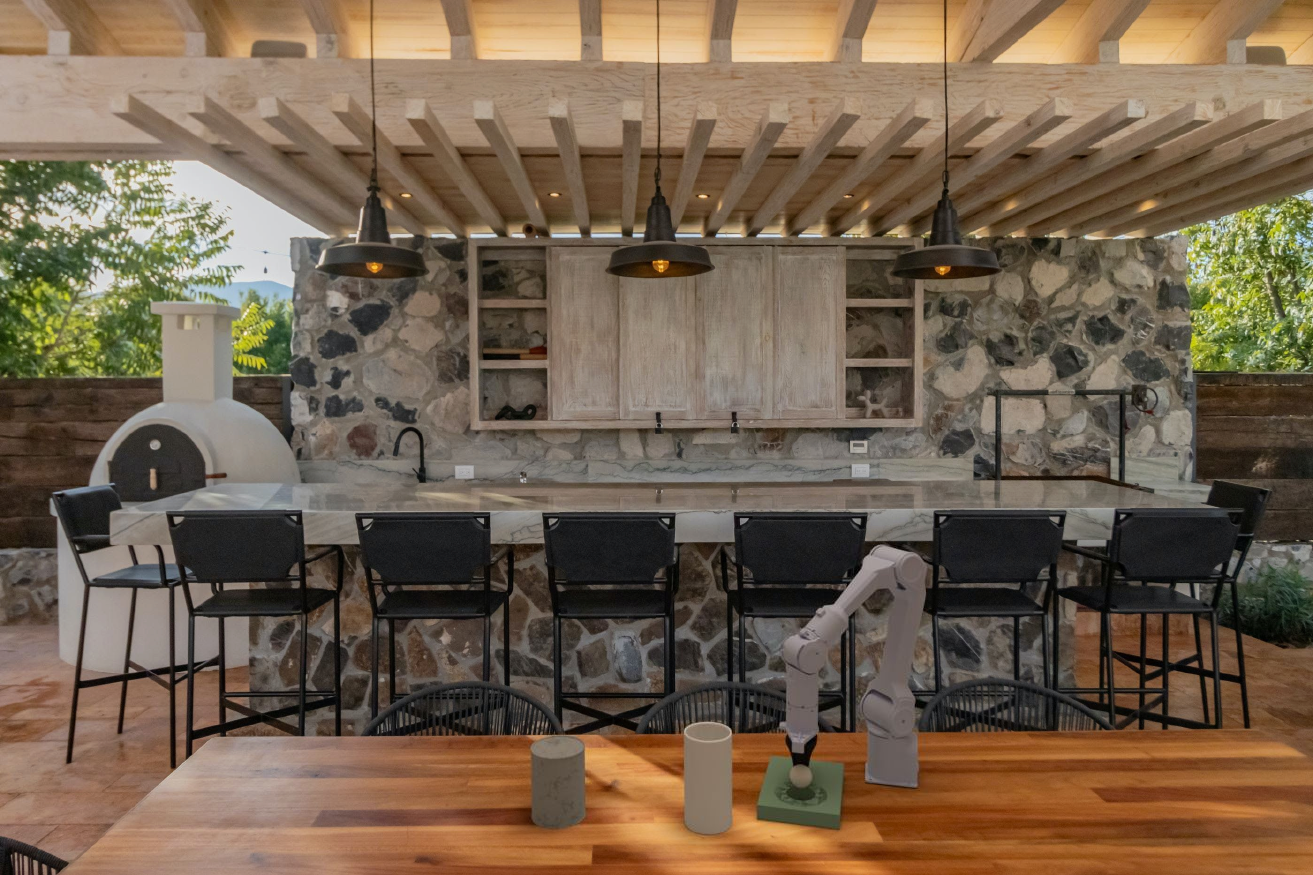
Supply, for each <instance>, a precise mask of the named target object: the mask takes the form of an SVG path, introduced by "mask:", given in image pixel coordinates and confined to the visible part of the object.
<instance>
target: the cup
mask: <svg viewBox="0 0 1313 875" xmlns="http://www.w3.org/2000/svg"><path fill="white" fill-rule="evenodd" d="M683 731H684V732H683V760H684V761H683V775H684V776H683V780H684V781H683V782H684V783H683V784H684V787H683V788H684V790H683V791H684V794H683V795H684V797H683V798H684V799H683V800H684V801H683V802H684V805H683V806H684V810H683V811H684V813H683V814H684V824H685V826H686V828H687V829H689V830H690V831H691V832H694V833H697V834H701V835H717V834H723V833H724V832H727V831H729V830H730V828H732V826H733V733H732V732H733V731H732V728H730V727H729V726H727V725H726V724H723V723H719V722H716V721H715V722H713V721H701V722H695V723H691V724H689V725H687V726H686V727H685V728H684V730H683Z"/></svg>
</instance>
